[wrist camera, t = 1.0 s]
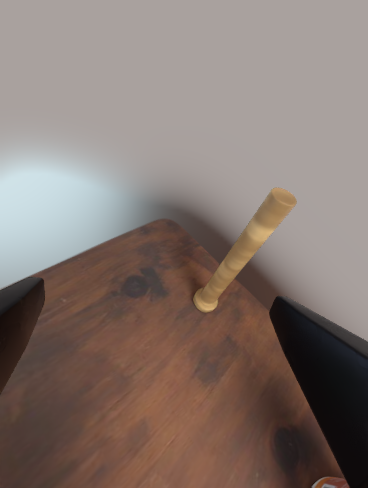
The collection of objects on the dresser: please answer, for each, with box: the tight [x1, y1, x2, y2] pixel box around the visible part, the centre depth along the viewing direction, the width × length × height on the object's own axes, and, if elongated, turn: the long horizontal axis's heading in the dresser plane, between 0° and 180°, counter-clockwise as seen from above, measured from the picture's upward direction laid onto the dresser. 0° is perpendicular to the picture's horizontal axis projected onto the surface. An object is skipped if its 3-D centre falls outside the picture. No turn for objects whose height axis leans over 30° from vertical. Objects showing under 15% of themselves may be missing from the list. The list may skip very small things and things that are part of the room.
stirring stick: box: [194, 188, 297, 313], centre depth 20 cm, size 3×3×16 cm
